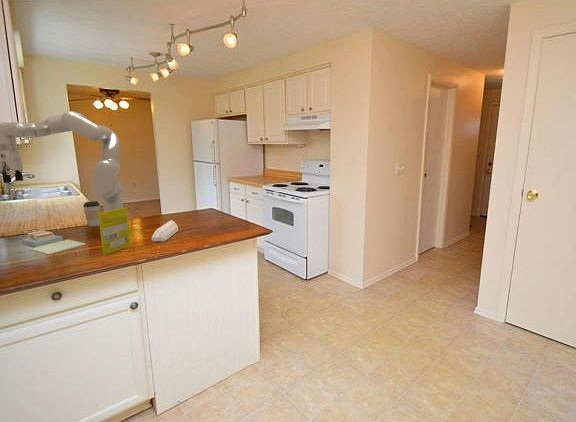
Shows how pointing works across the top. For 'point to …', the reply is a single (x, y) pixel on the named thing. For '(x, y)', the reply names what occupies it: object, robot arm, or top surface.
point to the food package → (114, 230)
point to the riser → (41, 241)
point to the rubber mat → (58, 246)
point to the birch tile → (40, 235)
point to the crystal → (165, 232)
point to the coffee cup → (92, 212)
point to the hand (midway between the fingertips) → (13, 181)
